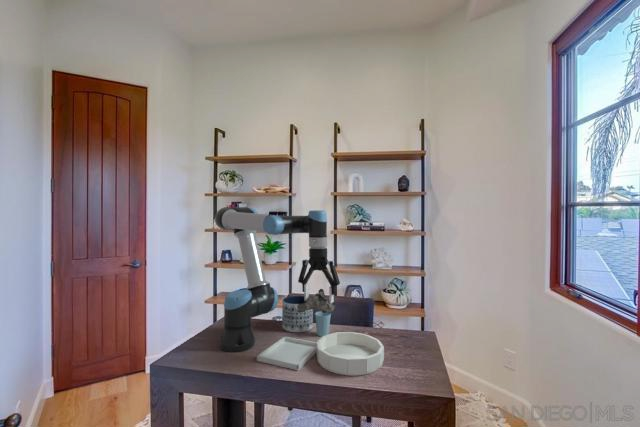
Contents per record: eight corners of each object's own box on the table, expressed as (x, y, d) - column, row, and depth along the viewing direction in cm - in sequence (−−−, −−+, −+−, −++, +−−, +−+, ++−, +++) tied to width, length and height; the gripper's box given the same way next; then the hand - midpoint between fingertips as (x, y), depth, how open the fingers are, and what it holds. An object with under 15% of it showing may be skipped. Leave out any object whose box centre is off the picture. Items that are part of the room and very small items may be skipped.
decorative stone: (294, 312, 123) (296, 286, 126) (299, 311, 132) (301, 287, 134) (335, 315, 121) (336, 289, 123) (337, 314, 130) (338, 289, 132)
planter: (317, 324, 166) (317, 297, 166) (304, 335, 151) (304, 305, 151) (291, 320, 172) (291, 294, 172) (276, 329, 158) (276, 301, 158)
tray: (256, 360, 124) (256, 355, 124) (284, 340, 144) (284, 336, 144) (298, 370, 117) (298, 365, 117) (321, 347, 137) (321, 343, 137)
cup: (333, 336, 150) (333, 314, 150) (318, 339, 147) (318, 316, 147) (326, 331, 157) (326, 310, 157) (312, 333, 154) (312, 312, 154)
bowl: (306, 366, 119) (306, 351, 119) (331, 341, 144) (331, 328, 144) (373, 382, 109) (373, 364, 109) (388, 352, 133) (388, 338, 133)
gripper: (289, 247, 130) (289, 300, 129) (340, 249, 120) (341, 306, 120) (298, 246, 137) (298, 296, 136) (347, 247, 127) (348, 301, 126)
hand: (318, 301), depth 128 cm, fingers closed on decorative stone, 11 cm apart
